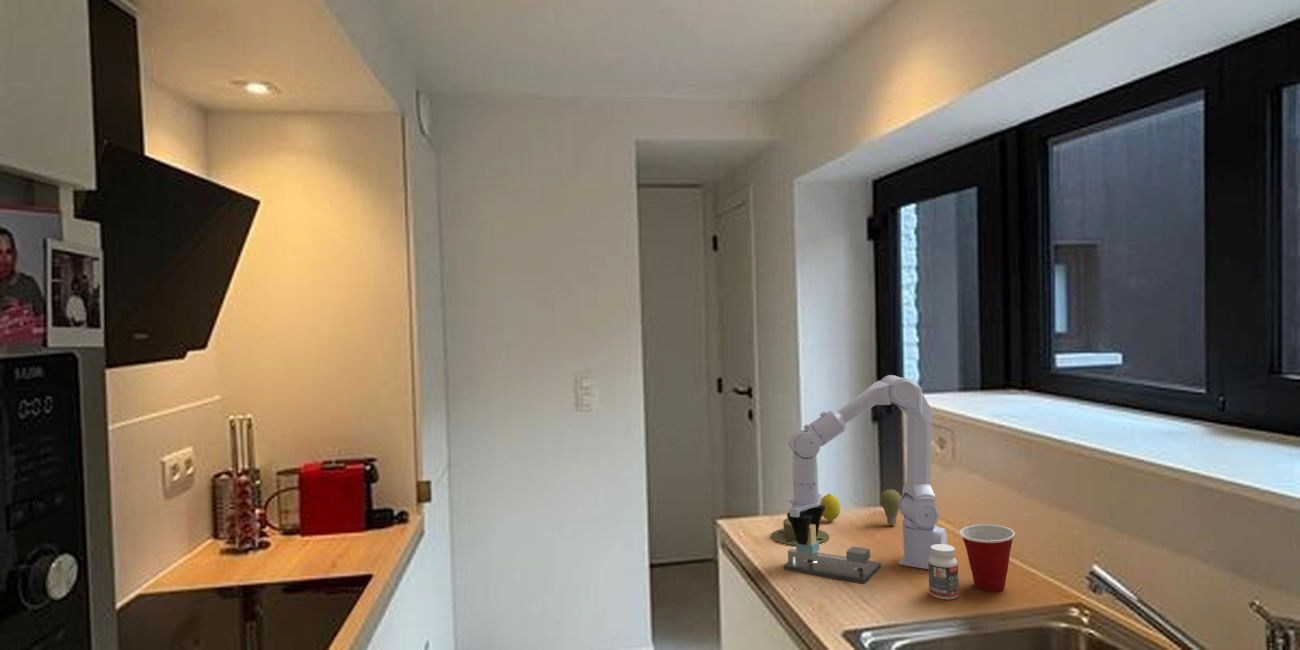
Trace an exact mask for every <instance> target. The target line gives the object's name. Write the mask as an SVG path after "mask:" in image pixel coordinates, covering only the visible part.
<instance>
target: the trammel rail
mask: <svg viewBox="0 0 1300 650" xmlns="http://www.w3.org/2000/svg"><path fill="white" fill-rule="evenodd" d="M820 553H821V552H817V553H815V554H813V555H811V554H805V553H799V552H797V551H796V549H794V548H790V549H788V550H787V559H788V560H787V562H794V561H796V557H798V558H804V559H810V560H816V561H822V562H828V563H834V564H840V565H845V566H851V567H857V568H859V569H863V575H869V574H870V573H871V571H870V562H869V561H870V559H871V549H870V548H866V547H859V546H858V547H857V546H851V547H850V548H848V549H847V550H846V552H845V553H846V557H847V558H844V557H845V556H842V557H838V556H839V555H836V556H832V555H833V554H830V555H826V554H827V553H824V554H820Z"/></svg>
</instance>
